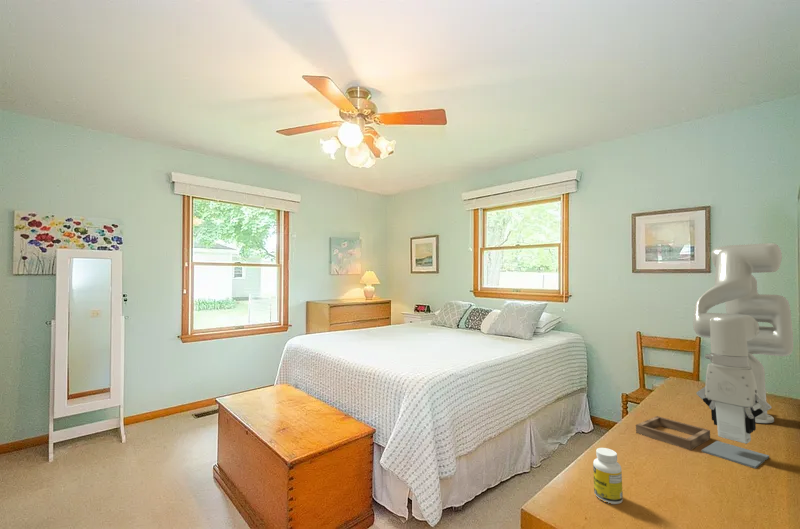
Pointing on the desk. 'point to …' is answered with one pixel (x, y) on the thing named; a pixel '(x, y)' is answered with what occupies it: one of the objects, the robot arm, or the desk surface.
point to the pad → (736, 454)
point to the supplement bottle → (607, 476)
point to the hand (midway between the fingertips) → (733, 427)
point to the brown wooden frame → (689, 443)
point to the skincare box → (732, 422)
